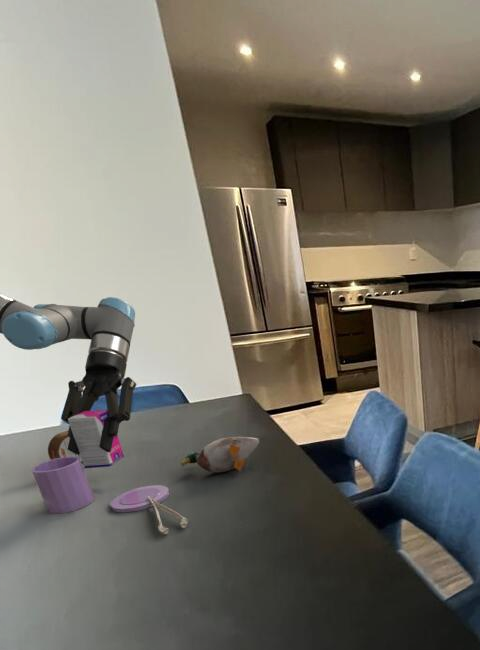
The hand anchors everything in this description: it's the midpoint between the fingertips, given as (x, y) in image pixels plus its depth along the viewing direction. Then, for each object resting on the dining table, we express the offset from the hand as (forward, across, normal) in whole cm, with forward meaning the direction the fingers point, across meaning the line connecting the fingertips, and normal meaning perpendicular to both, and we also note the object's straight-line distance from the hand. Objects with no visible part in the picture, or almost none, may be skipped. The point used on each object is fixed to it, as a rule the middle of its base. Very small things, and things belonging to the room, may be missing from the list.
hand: (89, 450), depth 105 cm
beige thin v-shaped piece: (+18, -20, +6) cm, 28 cm away
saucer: (+12, -12, 0) cm, 18 cm away
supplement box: (+1, 0, -6) cm, 6 cm away
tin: (-7, +14, -19) cm, 25 cm away
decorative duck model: (+2, -25, -10) cm, 27 cm away
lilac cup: (+12, +2, -1) cm, 12 cm away
